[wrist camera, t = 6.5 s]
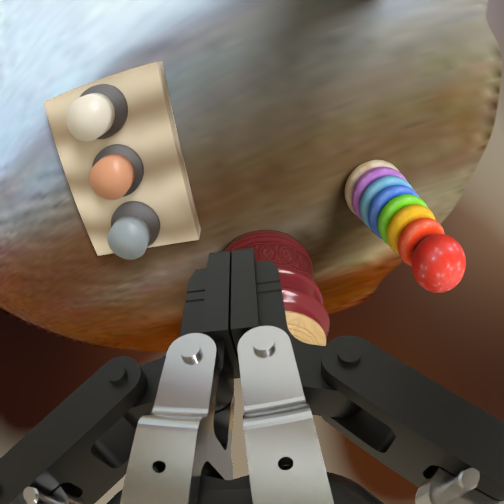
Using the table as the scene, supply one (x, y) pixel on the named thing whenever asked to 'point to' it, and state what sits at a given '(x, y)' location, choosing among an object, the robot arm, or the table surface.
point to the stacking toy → (405, 224)
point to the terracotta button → (112, 176)
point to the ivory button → (90, 116)
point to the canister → (291, 282)
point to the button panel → (130, 158)
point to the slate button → (129, 237)
